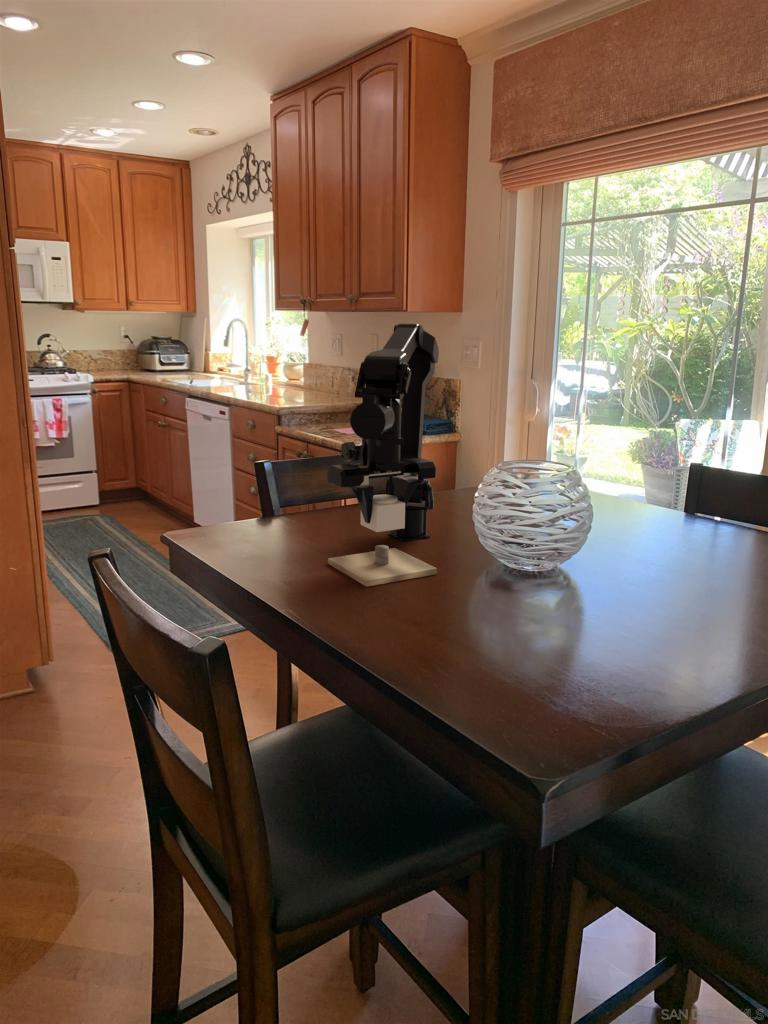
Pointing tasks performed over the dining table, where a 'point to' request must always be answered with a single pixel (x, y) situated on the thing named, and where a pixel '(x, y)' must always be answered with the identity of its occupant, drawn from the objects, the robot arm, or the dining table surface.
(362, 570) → the stud plate
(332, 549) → the dining table surface
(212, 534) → the dining table surface
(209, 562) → the dining table surface
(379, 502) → the white domed square block
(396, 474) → the robot arm
